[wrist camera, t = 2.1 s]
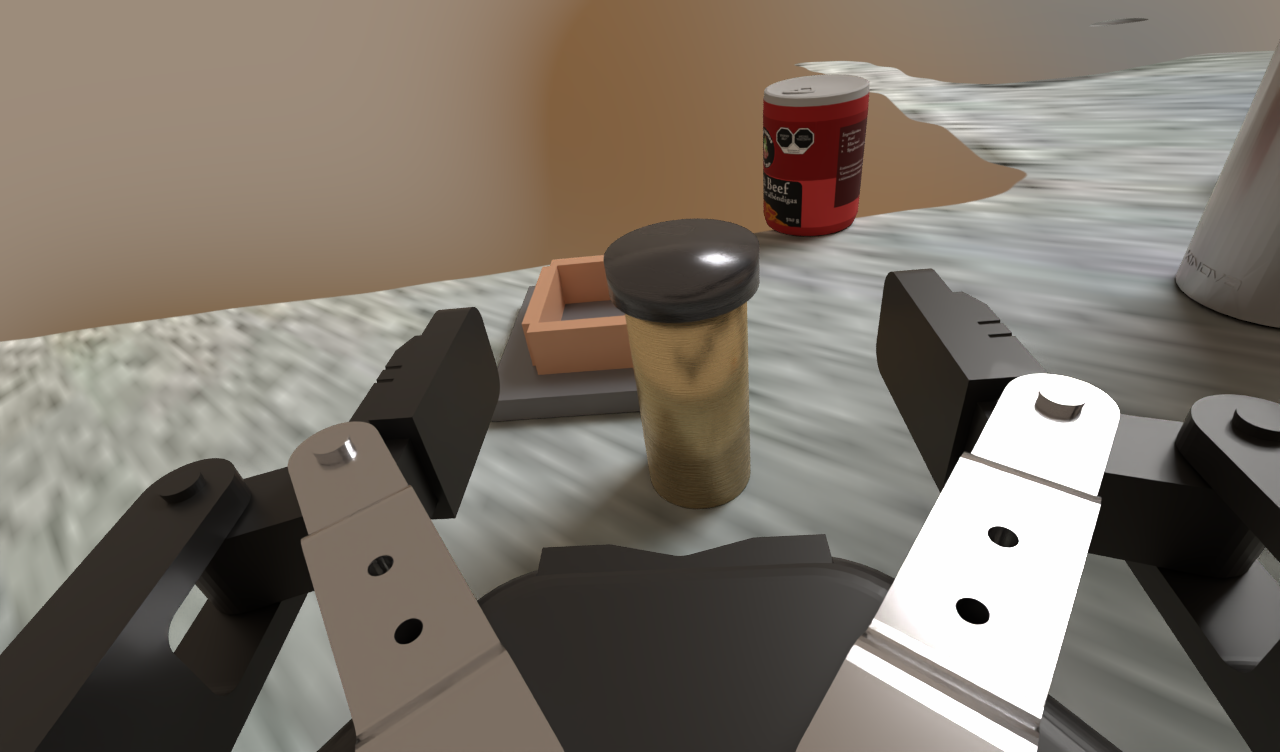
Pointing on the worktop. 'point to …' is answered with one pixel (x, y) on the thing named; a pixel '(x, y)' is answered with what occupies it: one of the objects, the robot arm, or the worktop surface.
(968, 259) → the worktop surface
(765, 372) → the worktop surface
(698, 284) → the spice jar
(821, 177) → the canned food
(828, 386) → the worktop surface
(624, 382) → the open box
